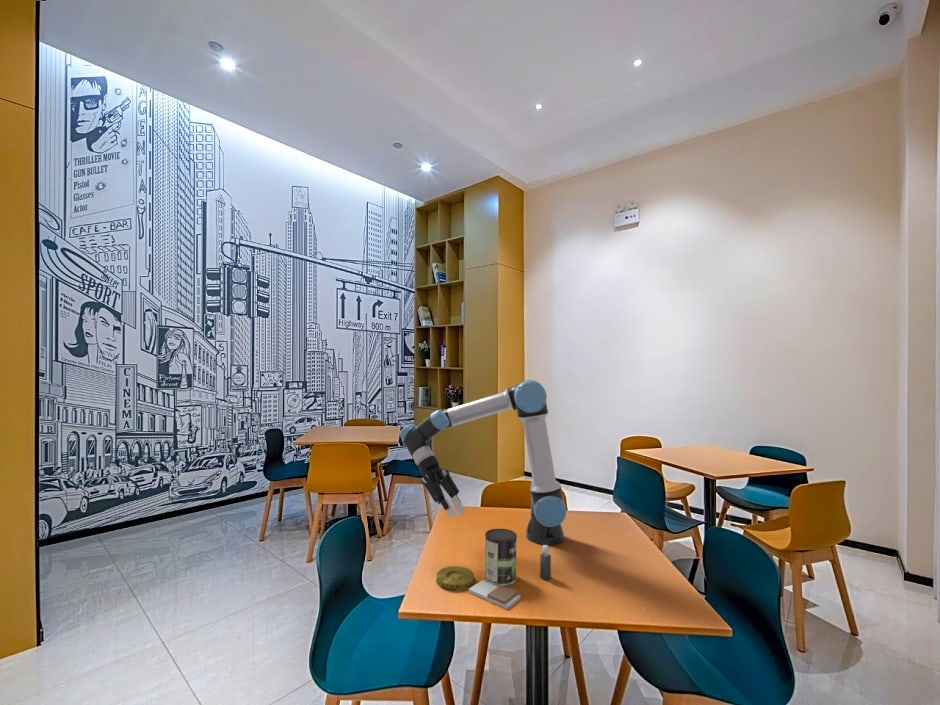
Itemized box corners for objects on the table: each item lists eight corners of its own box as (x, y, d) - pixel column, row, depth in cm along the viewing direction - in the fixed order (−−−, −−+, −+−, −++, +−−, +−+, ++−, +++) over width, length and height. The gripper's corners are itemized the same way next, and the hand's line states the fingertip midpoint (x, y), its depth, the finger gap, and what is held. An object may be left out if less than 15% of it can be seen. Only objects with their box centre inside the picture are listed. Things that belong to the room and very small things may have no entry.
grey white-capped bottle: (543, 574, 137) (543, 543, 137) (552, 577, 134) (552, 546, 135) (538, 577, 134) (538, 546, 134) (547, 581, 132) (547, 549, 132)
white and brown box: (482, 583, 130) (482, 577, 130) (520, 599, 121) (520, 592, 121) (468, 592, 124) (468, 586, 124) (507, 609, 115) (507, 602, 115)
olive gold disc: (479, 577, 134) (479, 570, 134) (465, 595, 123) (465, 587, 123) (446, 570, 139) (446, 563, 139) (429, 586, 128) (429, 579, 128)
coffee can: (519, 574, 136) (519, 530, 137) (512, 589, 127) (512, 542, 127) (489, 568, 140) (490, 526, 140) (480, 583, 130) (481, 537, 131)
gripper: (436, 463, 165) (467, 514, 153) (404, 470, 151) (436, 527, 140) (446, 451, 162) (479, 503, 150) (414, 458, 148) (448, 515, 137)
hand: (458, 514), depth 145 cm, fingers open, 4 cm apart
